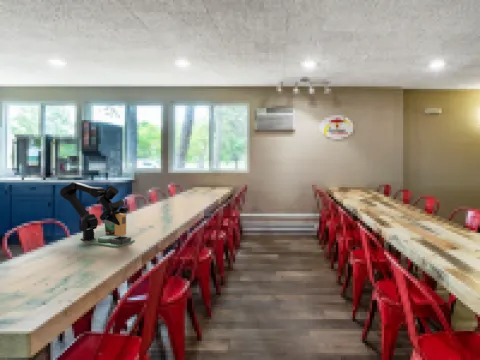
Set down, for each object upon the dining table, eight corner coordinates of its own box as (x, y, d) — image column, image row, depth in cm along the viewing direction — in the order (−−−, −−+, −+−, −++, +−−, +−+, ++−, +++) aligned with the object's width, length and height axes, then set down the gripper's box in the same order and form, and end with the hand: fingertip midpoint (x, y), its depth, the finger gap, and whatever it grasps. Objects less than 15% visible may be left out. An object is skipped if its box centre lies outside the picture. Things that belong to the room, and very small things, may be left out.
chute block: (114, 235, 190) (114, 214, 189) (120, 233, 194) (120, 213, 193) (121, 236, 188) (121, 215, 187) (126, 234, 192) (126, 213, 191)
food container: (108, 236, 209) (108, 221, 208) (103, 234, 213) (103, 219, 212) (125, 232, 219) (125, 218, 218) (120, 231, 223) (120, 217, 222)
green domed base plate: (90, 243, 190) (90, 238, 189) (108, 238, 204) (108, 232, 203) (117, 247, 183) (117, 241, 183) (134, 241, 197) (134, 236, 197)
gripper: (103, 197, 182) (119, 218, 179) (125, 194, 199) (140, 213, 197) (92, 210, 185) (108, 230, 182) (115, 205, 203) (129, 224, 200)
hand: (122, 224), depth 190 cm, fingers closed on chute block, 5 cm apart
